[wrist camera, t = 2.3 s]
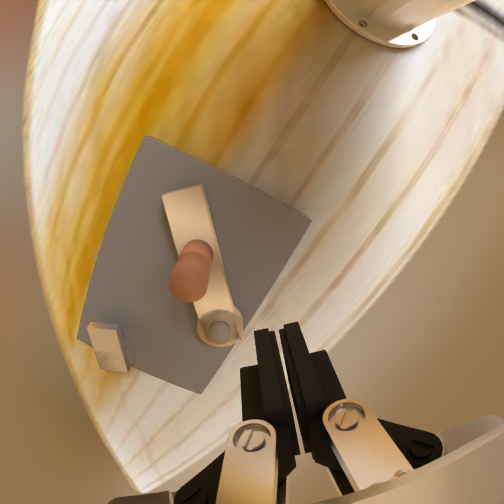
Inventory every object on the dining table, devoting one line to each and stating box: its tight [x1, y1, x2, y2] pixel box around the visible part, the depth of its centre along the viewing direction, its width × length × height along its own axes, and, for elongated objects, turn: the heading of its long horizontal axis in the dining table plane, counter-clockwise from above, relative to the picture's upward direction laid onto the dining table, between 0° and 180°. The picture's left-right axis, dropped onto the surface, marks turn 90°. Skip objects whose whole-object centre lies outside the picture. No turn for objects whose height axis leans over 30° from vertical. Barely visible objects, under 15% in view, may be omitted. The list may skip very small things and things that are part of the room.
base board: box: [77, 136, 311, 394], centre depth 26 cm, size 22×15×2 cm
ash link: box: [162, 183, 243, 347], centre depth 22 cm, size 14×4×7 cm, turn 11°
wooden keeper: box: [87, 322, 136, 372], centre depth 25 cm, size 3×5×3 cm, turn 179°
